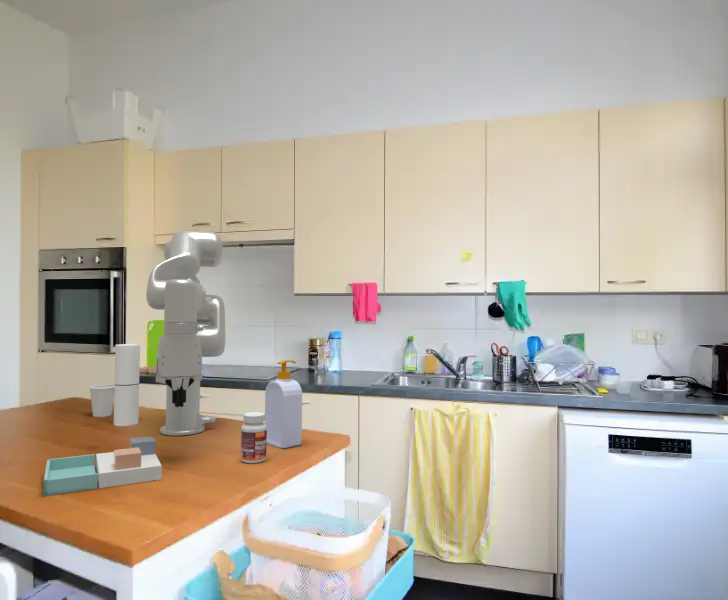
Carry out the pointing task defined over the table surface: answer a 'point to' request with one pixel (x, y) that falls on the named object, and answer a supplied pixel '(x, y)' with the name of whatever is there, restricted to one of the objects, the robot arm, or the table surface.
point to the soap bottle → (283, 410)
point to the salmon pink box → (127, 458)
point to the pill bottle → (253, 438)
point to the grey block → (144, 444)
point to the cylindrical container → (126, 384)
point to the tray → (70, 475)
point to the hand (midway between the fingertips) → (178, 406)
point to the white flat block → (126, 471)
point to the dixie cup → (102, 399)
